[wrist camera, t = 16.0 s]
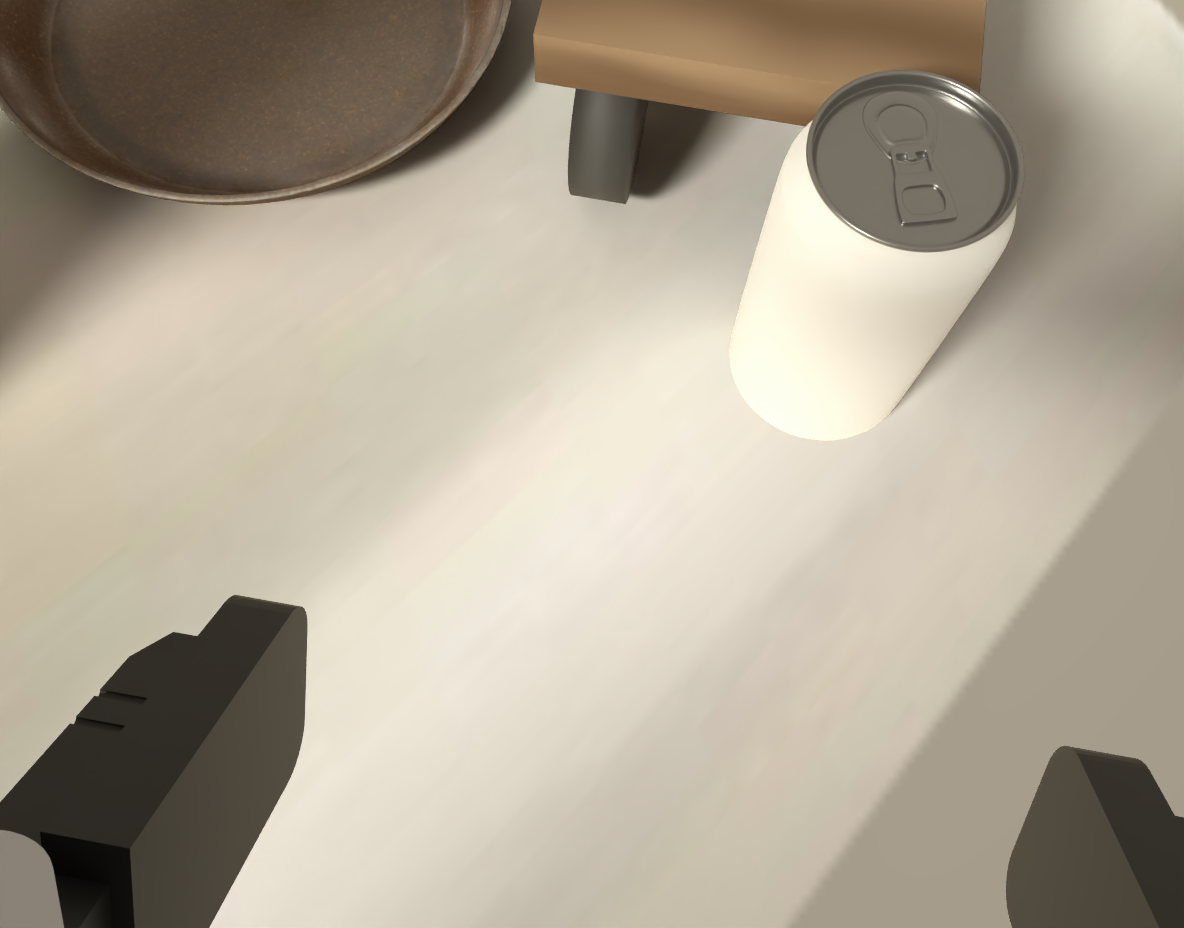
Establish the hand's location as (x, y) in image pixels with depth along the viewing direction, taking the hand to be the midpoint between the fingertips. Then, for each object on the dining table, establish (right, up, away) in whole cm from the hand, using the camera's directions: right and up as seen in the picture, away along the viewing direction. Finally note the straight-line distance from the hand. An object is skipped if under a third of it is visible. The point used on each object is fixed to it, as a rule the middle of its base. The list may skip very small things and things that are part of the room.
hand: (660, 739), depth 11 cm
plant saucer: (-14, +21, +33) cm, 41 cm away
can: (+7, +7, +27) cm, 29 cm away
